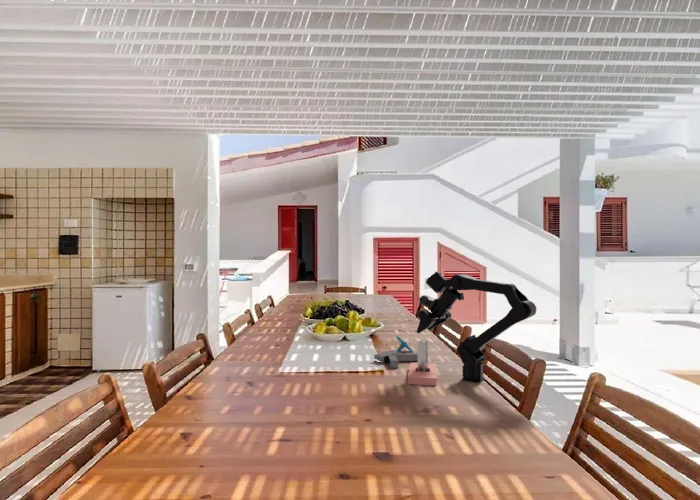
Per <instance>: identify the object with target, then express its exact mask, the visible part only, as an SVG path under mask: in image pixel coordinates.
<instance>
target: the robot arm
mask: <svg viewBox="0 0 700 500" xmlns="http://www.w3.org/2000/svg"><path fill="white" fill-rule="evenodd" d="M425 284H426V285H427V286H428V287H429V288H430V289H431V290H432V291H433V292H434V293H435V294H440V296H438V298H435V297H432V296H431V295H426V294H424V295H420V297H419V298H418V301H419V305H422V306H425V307H427V309H422V310H419V311H418V313H417V317H418V319H419V323H418V326H417V330H416V334H420V333H422V332H423V331H426V330H428V331H430V330H432V329H435V328H436V327H438V326H439V325H443V323H446V322H447V321H449V320H450V319H451V318H452V313H451V312H450V311H451V310H452V309H453V305H454V304H455V303H456V301H457V300H458V301H465V296H464V292H459V291H472V290H475V291H480V292H487V293H494V294H499V295H503V296H504V297H505V298H506V301H507V302H508V305H509V306H510V307H511V308H510V310H509V311H508V312H507V314H506V315H505V316H504V317H503V318H502V319H500V320H498V321H497V322H496V323H495V324H493V325H491V326H490V327H488V329H486V330H485V331H483V332H481V334H479V335H477V336H476V334H473V335H469V336H467V337H466V338H465V339H464V340H463V341H460V342H459V345H458V347H457V353H458V355H459V356H460V360H461V362H462V364H463V365H462V378H461V379H462V381H469V382H476V383H481V382H482V381H483V380H485V376H484V362H485V360H486V358H487V357H486V354H485V353H484V352H483V351H482V350H483V349H484V348H485V347H486V345H487V344H489V343H490V342H491V341H493V340H494V339H496V338H497V337H498V336H500V335H501V334H503V333H504V332H506V331H507V330H509V329H510V328H511V327H513V326H514V325H515V324H518V323H521V322H522V321H525V320H527V319H529V318H532V317H534V316H535V315H536V313H537V305H536V303H534V302H533V301H531V300H529V299H528V297H527V296H526V295H524V293H522V291H520V290H519V289H518V287H517V286H516V284H514V283H504V282H498V281H492V280H484V279H478V278H475V277H474V276H472V275H471V276H470V275H468V274H465V273H464V274H462V273H461V274H453V276H451V278H449V279H447V278H446V277H445V276H444V275H442V273H441V272H440V271H435V272H434V273H433V274H432V275H430V276H429V277H427V279H426V281H425Z"/></svg>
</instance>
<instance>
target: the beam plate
mask: <svg viewBox="0 0 700 500" xmlns="http://www.w3.org/2000/svg"><path fill="white" fill-rule="evenodd" d="M407 384H408V385H424V386H437V363H429V362H428V372H417V362H410V365H409V369H408V373H407Z"/></svg>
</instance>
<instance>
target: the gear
mask: <svg viewBox="0 0 700 500" xmlns="http://www.w3.org/2000/svg"><path fill="white" fill-rule="evenodd" d="M396 340H398V341H399V342H400V343H399V347H397V349H398V350H397V349H396V351H399V352H401V350H403V349H404V348H406V349H407V350H408V351H409V350H410V351H409V352H410V353H414V351H413V349H412V348H411V347H410V346H409V345H408V344H407V342H406V341H404V340H403V339H402V338H400V337H399V335H397V336H396Z"/></svg>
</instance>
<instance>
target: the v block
mask: <svg viewBox="0 0 700 500" xmlns="http://www.w3.org/2000/svg"><path fill="white" fill-rule="evenodd" d="M373 357H374V359H377V360H379V361H381V362H382V363H383V364H382V363H381V364H382V365H385V364H388V366H389V365H390V366H389V367H390V369H399V362H398V361H417V352H402V351H397V350H395V349H393V350H387V351H383V352H379V353H376V354H374V355H373ZM384 363H385V364H384Z"/></svg>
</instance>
